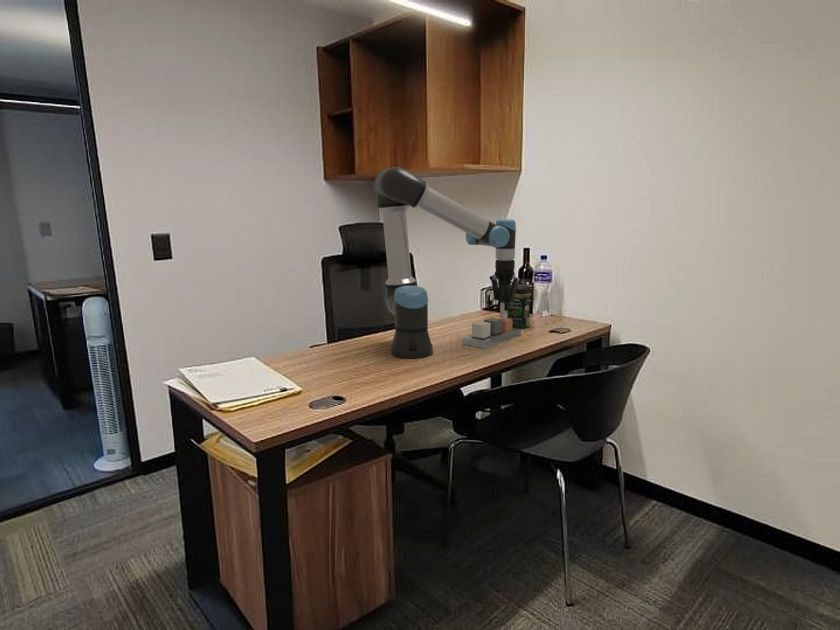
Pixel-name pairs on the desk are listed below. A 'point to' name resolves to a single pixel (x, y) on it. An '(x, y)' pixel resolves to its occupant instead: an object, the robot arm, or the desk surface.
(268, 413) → the desk surface
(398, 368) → the desk surface
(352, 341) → the desk surface
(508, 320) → the key terracotta
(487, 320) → the block
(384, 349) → the desk surface
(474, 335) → the key ivory
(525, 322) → the coffee jar
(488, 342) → the panel
